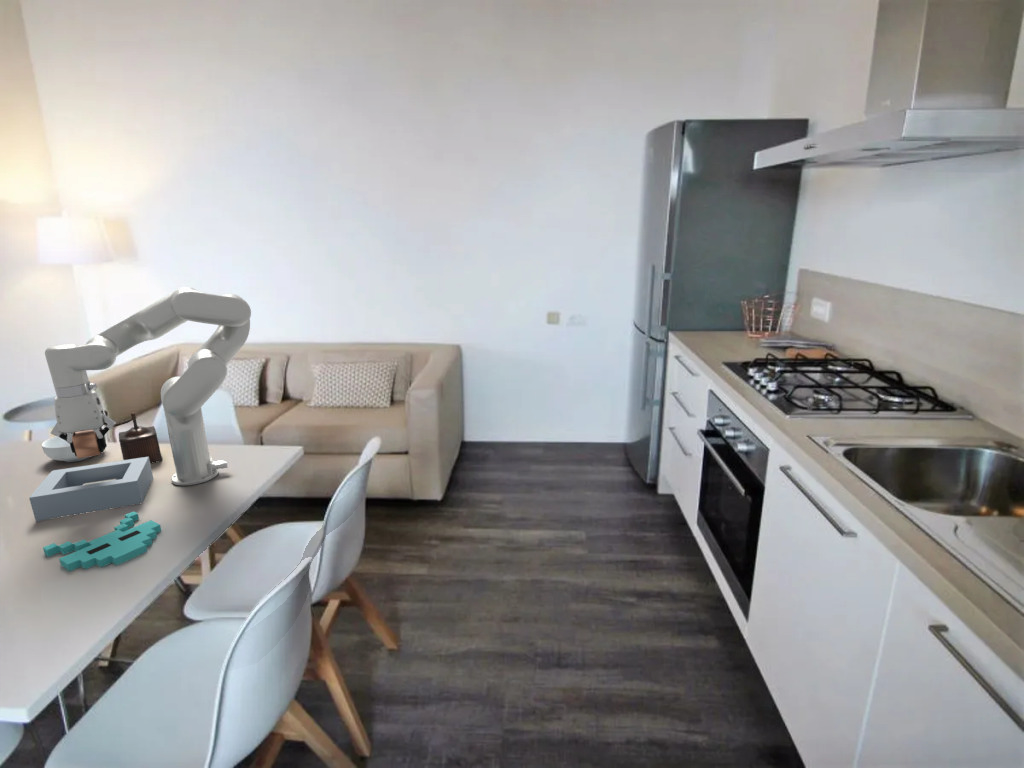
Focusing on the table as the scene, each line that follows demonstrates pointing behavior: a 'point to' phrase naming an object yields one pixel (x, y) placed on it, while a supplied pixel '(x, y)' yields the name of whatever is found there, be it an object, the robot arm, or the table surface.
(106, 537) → the alien figure
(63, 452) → the cereal bowl
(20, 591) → the table surface
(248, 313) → the robot arm
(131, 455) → the brown manual coffee grinder
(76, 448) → the terracotta cube
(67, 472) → the slot box
